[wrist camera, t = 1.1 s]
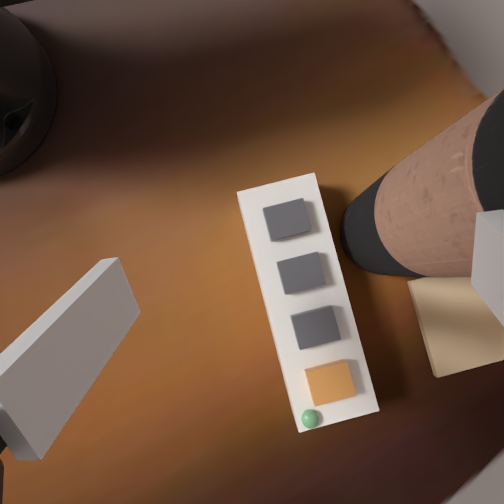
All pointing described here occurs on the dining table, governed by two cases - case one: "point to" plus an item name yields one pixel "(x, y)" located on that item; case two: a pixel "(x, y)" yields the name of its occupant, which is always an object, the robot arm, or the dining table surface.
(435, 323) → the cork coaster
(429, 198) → the travel mug
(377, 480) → the dining table surface
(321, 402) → the socket strip
